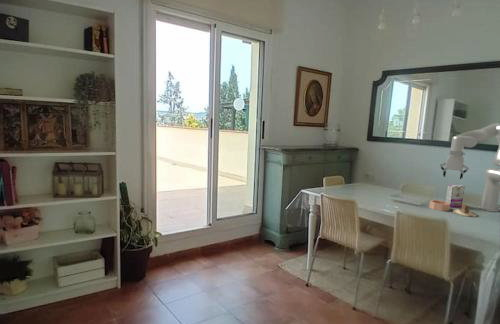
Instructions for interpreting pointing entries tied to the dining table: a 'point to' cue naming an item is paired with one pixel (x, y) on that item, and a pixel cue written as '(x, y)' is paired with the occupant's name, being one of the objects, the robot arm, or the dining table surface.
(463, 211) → the lid
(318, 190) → the dining table surface
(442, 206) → the bowl
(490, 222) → the dining table surface
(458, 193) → the candy bar box
